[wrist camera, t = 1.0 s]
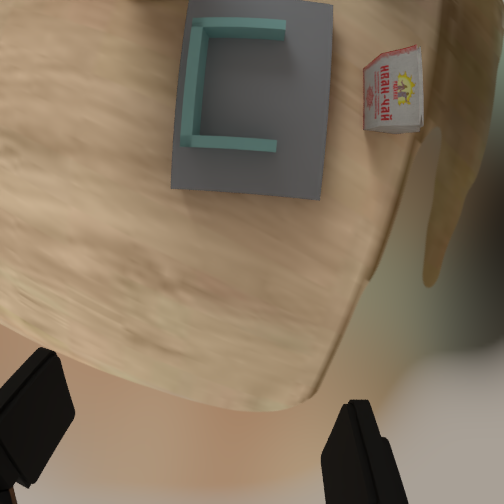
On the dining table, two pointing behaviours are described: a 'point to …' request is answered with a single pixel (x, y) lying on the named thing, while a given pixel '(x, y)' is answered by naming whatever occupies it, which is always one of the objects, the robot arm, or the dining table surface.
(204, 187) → the dock
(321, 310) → the dining table surface
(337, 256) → the dining table surface
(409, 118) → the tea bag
